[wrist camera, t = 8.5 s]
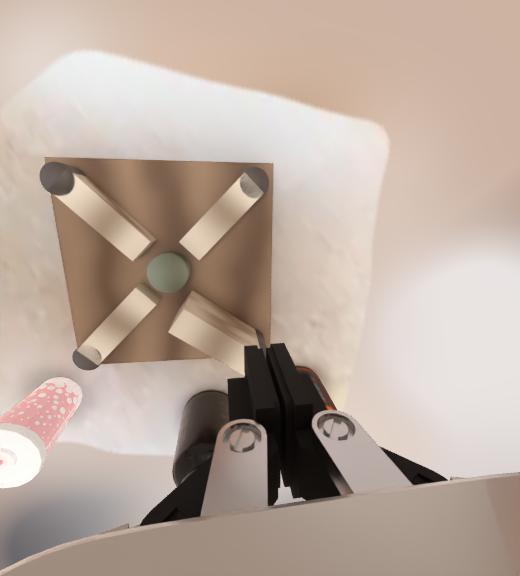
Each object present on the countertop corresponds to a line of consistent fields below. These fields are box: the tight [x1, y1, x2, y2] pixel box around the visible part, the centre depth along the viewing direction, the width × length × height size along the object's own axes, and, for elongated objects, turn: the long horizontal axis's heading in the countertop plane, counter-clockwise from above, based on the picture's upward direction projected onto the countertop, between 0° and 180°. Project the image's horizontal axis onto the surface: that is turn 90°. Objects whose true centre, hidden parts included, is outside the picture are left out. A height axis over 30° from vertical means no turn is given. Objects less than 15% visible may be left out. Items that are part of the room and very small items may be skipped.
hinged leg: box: [168, 290, 267, 376], centre depth 27 cm, size 10×3×6 cm, turn 54°
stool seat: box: [40, 157, 273, 370], centre depth 28 cm, size 20×20×5 cm
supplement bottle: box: [172, 392, 229, 487], centre depth 30 cm, size 7×7×12 cm
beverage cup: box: [0, 377, 83, 488], centre depth 26 cm, size 6×6×14 cm
